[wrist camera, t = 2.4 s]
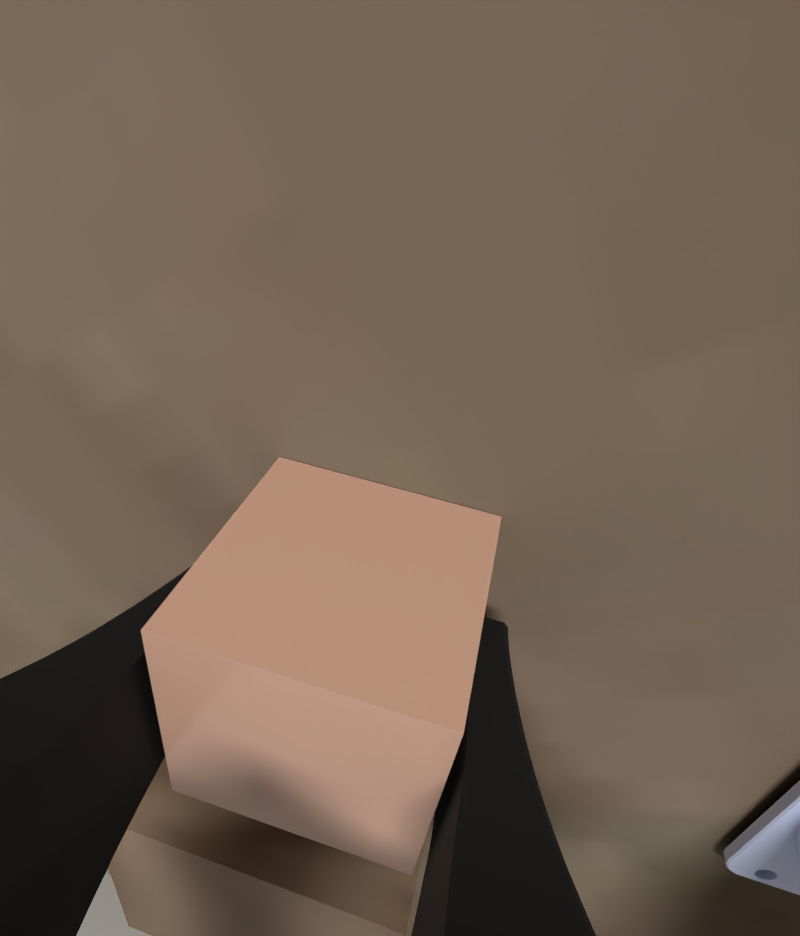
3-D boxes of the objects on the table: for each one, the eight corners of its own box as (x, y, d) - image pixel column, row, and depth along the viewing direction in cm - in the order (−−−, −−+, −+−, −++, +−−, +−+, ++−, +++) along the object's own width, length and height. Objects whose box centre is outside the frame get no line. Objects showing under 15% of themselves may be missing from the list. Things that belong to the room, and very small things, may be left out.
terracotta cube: (501, 516, 12) (463, 733, 8) (456, 662, 15) (411, 875, 11) (279, 457, 13) (141, 629, 9) (276, 607, 16) (171, 790, 12)
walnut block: (433, 794, 20) (405, 934, 16) (390, 900, 25) (362, 1019, 22) (166, 701, 21) (90, 815, 17) (183, 823, 26) (128, 926, 23)
